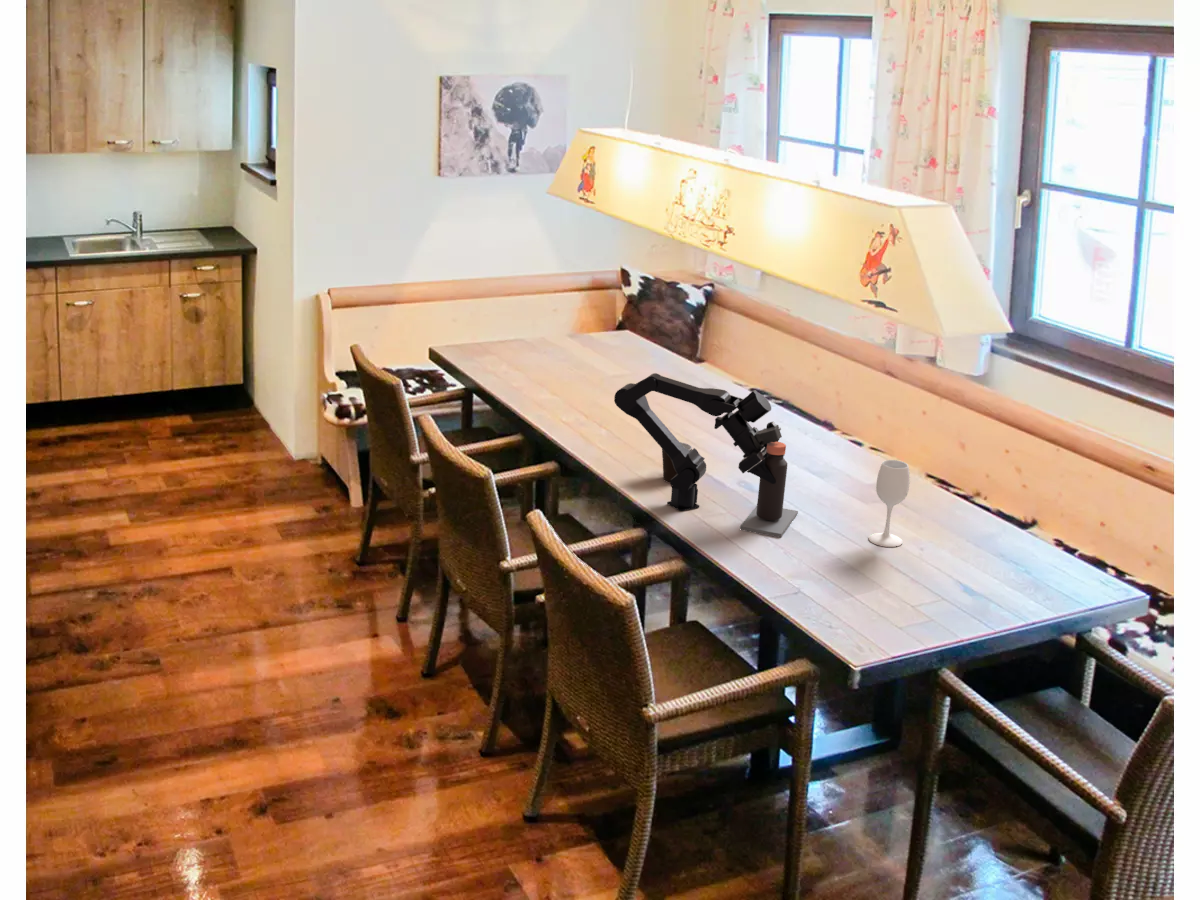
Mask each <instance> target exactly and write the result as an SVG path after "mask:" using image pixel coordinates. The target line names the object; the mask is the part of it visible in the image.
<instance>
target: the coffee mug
mask: <svg viewBox="0 0 1200 900" xmlns="http://www.w3.org/2000/svg"><path fill="white" fill-rule="evenodd" d="M679 442H680V443H681V444H682V446H683V447H684V448H686V449H688V450H690V451H691V450H693V446H692V445H691V444H689V443H686V442H682V441H679ZM661 455H662V456H661V457H662V473H663V474H662V475H663V481H664V480H665V481H664V482H666V481H667V482H666V483H669V484H671V483H670V480H671V479H672V478H673V477H674V476H675V475H676V474H677V472H676V471H675V469H674V466H673V463H672V460H671V458H670V457H669V456H668V455H667V454H666V452H665V451H664V450H663V449H662V448H661Z"/></svg>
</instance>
